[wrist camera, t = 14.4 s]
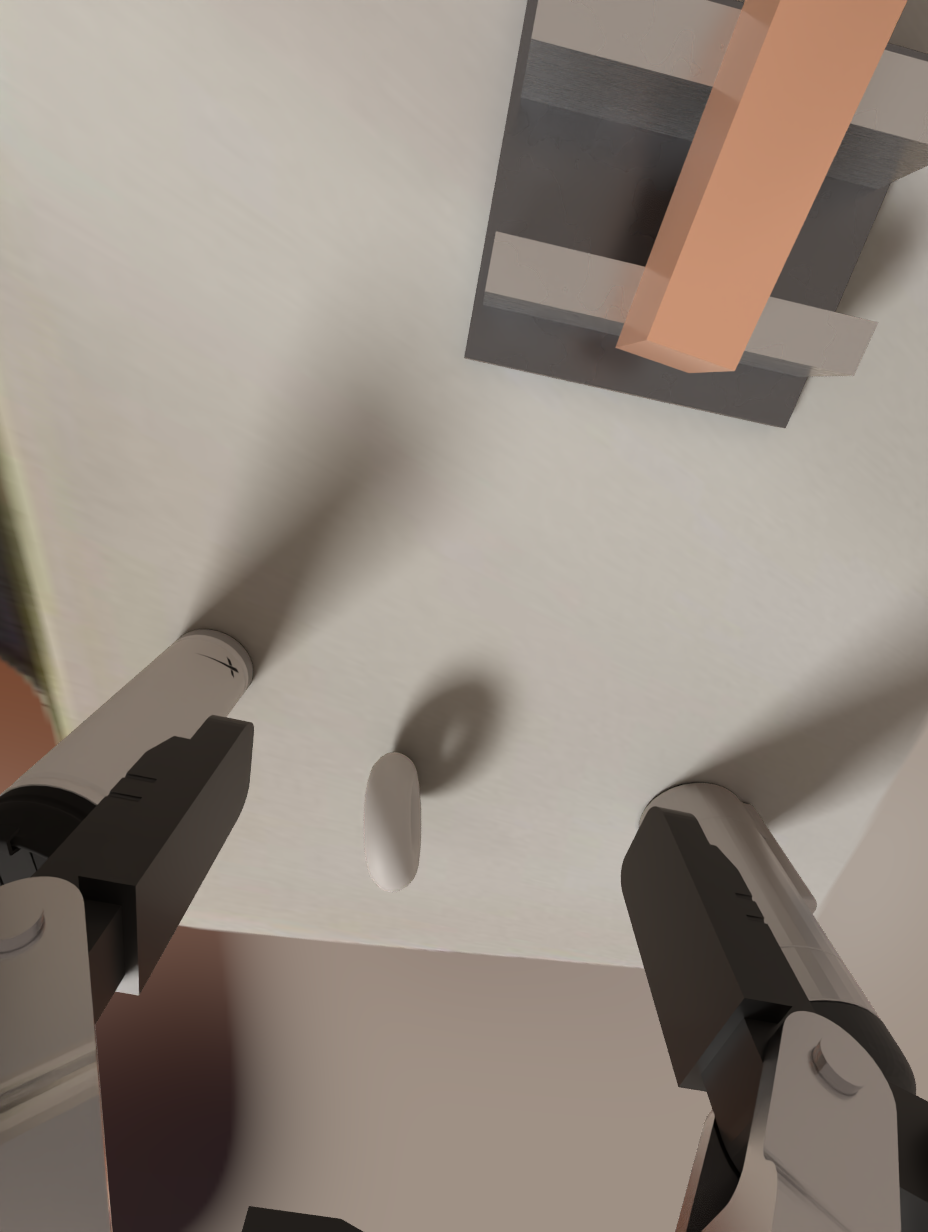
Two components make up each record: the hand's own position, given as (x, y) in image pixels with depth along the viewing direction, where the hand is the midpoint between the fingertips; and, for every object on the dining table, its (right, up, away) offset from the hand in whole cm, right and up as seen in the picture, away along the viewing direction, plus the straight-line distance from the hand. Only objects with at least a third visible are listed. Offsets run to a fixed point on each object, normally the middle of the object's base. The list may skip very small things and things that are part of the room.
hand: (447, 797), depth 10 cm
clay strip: (+12, +23, +13) cm, 28 cm away
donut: (-5, -10, +34) cm, 36 cm away
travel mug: (-19, 0, +30) cm, 36 cm away
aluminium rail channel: (+12, +25, +18) cm, 33 cm away
